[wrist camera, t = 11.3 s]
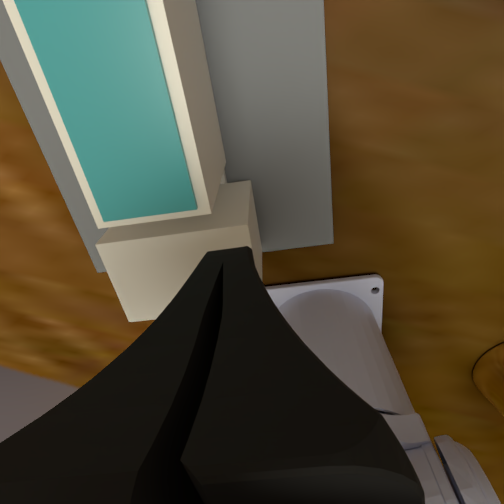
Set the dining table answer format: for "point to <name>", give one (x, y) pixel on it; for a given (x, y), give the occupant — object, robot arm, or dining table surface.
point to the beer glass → (491, 376)
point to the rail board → (235, 149)
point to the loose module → (128, 102)
